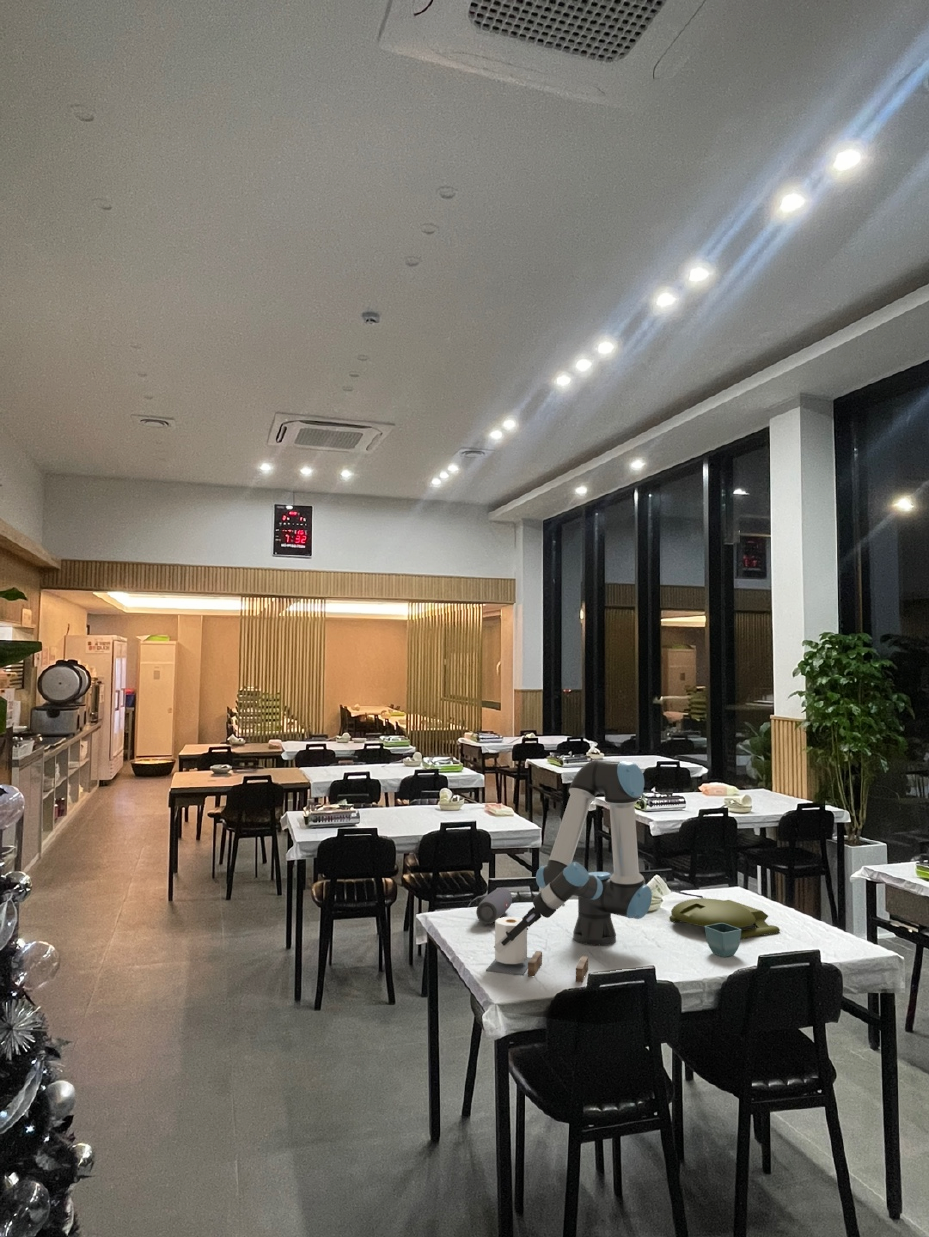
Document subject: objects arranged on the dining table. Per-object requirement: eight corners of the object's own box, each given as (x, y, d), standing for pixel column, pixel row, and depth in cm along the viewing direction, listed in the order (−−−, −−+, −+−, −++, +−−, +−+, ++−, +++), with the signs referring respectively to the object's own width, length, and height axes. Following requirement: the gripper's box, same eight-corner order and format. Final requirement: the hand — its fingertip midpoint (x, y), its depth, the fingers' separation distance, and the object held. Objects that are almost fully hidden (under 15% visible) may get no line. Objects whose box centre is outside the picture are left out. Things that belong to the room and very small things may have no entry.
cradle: (536, 963, 265) (536, 950, 265) (588, 969, 260) (588, 956, 260) (527, 975, 253) (527, 962, 254) (582, 982, 248) (582, 968, 249)
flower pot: (723, 960, 270) (723, 932, 271) (704, 952, 278) (703, 925, 279) (742, 956, 274) (742, 929, 275) (722, 948, 282) (722, 922, 283)
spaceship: (723, 912, 329) (723, 887, 330) (783, 933, 302) (782, 906, 303) (654, 922, 314) (654, 896, 315) (710, 945, 287) (710, 917, 287)
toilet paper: (523, 953, 269) (523, 915, 270) (529, 963, 259) (529, 924, 260) (493, 954, 268) (493, 916, 269) (498, 964, 258) (498, 925, 259)
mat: (499, 955, 273) (499, 953, 273) (534, 958, 269) (534, 957, 269) (486, 970, 257) (486, 969, 258) (523, 975, 254) (523, 973, 254)
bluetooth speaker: (498, 928, 302) (498, 901, 303) (474, 926, 305) (475, 898, 306) (513, 912, 324) (514, 887, 325) (491, 910, 327) (491, 885, 328)
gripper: (546, 919, 249) (498, 965, 253) (566, 901, 270) (521, 943, 274) (530, 900, 251) (482, 945, 256) (550, 883, 272) (506, 925, 277)
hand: (502, 944), depth 265 cm, fingers closed on toilet paper, 10 cm apart
